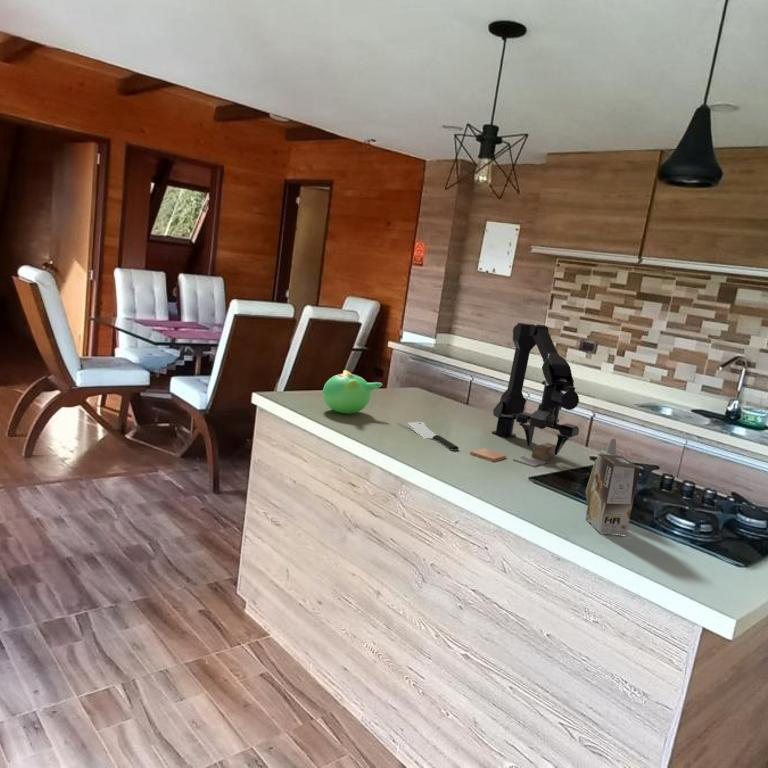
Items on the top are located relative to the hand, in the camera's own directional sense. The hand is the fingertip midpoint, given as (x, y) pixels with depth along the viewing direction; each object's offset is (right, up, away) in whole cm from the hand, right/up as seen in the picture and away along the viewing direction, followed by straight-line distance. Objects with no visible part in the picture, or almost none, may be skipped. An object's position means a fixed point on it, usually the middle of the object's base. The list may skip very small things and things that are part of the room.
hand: (542, 450), depth 197 cm
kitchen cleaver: (-35, +3, +9) cm, 37 cm away
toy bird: (-63, +10, +26) cm, 69 cm away
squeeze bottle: (+4, -10, -40) cm, 41 cm away
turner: (-2, -3, -2) cm, 4 cm away
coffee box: (+1, -12, -53) cm, 54 cm away
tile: (-18, -1, -5) cm, 19 cm away
